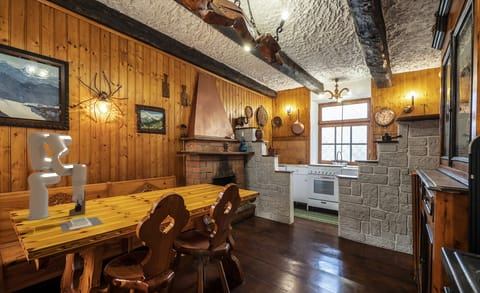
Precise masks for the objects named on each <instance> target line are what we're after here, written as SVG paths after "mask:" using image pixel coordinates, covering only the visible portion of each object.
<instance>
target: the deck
mask: <svg viewBox="0 0 480 293" xmlns="http://www.w3.org/2000/svg"><path fill="white" fill-rule="evenodd" d="M69 222H70V224H71V226H72V227H76V226H81V225H86V224H88V222H89V221H88V220H87V217H80V218H74V219H70V221H69Z"/></svg>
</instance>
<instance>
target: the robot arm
mask: <svg viewBox="0 0 480 293" xmlns="http://www.w3.org/2000/svg"><path fill="white" fill-rule="evenodd" d="M26 144H27V147H28V150H29V161H30V167H31V169H32V170H34V171H37V172H34V173H31V174H30V175H29V176H28V179H27V180H28V185H29V206H28V207H29V209H28V213H29V214H28V215H27V216H26V217H25V220H26V221H33V220H42V219H46V218H49V217H51V213H49V189H48V188H47V185H54V184H58V183H59V182H60V181H61V179H62V178H61V177H63V176H64V177H65V176H71V186H72V201H73V202H74V203H75V205H74V208H75V212H79V211H81V207H82V205H81V203H82V201H83V199H84V190H85V186H87V172H88V171H87V170H88V166H87V165H86V164H85V163H84V164H83V163H81V164H80V163H62V162H61V160H60V159H61V158H63V157H65V156H67V155H68V154H69V152H70V149H69V148H68V147H69V146H71V145H72V144H73V139H72V136H70V135H69V134H65V133H64V134H63V133H59V132H50V131H48V132H47V131H33V132H30V133H29V134H28V135H27V137H26ZM44 145H48V147H49V149H50V151H51V152H52V156H48V155H47V154H48V153H47V150H46V148H45V146H44ZM46 170H47V171H46Z"/></svg>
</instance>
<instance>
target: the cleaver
mask: <svg viewBox="0 0 480 293" xmlns="http://www.w3.org/2000/svg"><path fill="white" fill-rule="evenodd" d="M86 197H87V190H86V189H84V199H83V201H82V203H81V205H82V207H81V211H79V212H75V207H74V208H71V209H69V210H68V217H70V218H71V217H77V216H84V215H86V204H87V203H86V202H87V201H86Z"/></svg>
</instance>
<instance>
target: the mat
mask: <svg viewBox="0 0 480 293" xmlns="http://www.w3.org/2000/svg"><path fill="white" fill-rule="evenodd" d="M86 218H87V217H86ZM87 220H88V221H89V222H88V224H86V225H81V226H76V227H72V226H71V224H70V221H65V222H59V226H60V229H61V232H62V233H65V232H70V231H76V230H80V229H85V228H91V227H96V226H101V225H104V223H103V221H102V220H100V218H99V217H97V216H94V217H88V218H87Z"/></svg>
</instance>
